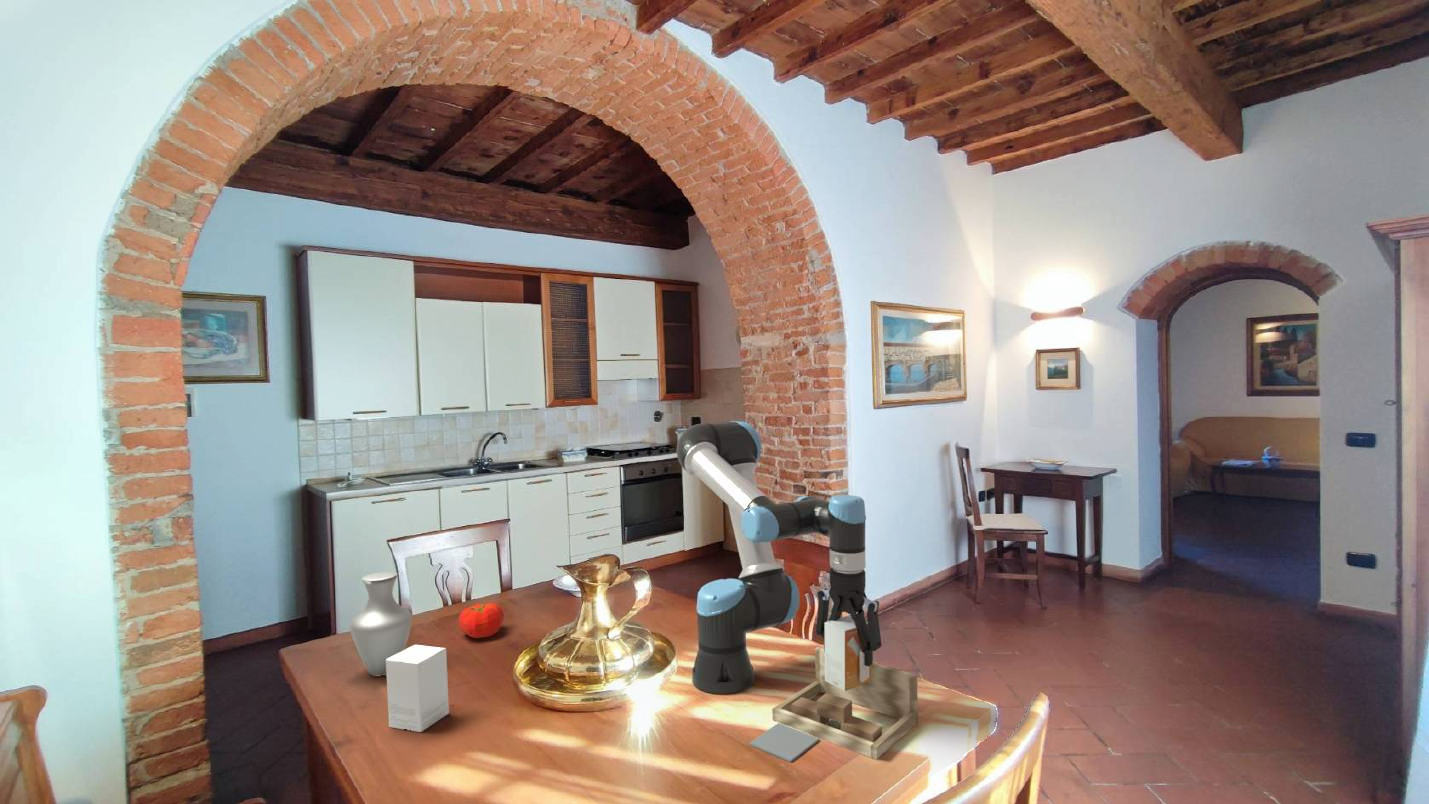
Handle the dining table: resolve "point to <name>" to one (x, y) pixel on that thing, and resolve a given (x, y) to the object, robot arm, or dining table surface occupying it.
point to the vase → (380, 623)
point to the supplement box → (417, 687)
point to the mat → (784, 742)
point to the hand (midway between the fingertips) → (847, 673)
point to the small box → (843, 654)
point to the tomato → (481, 620)
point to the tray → (882, 694)
